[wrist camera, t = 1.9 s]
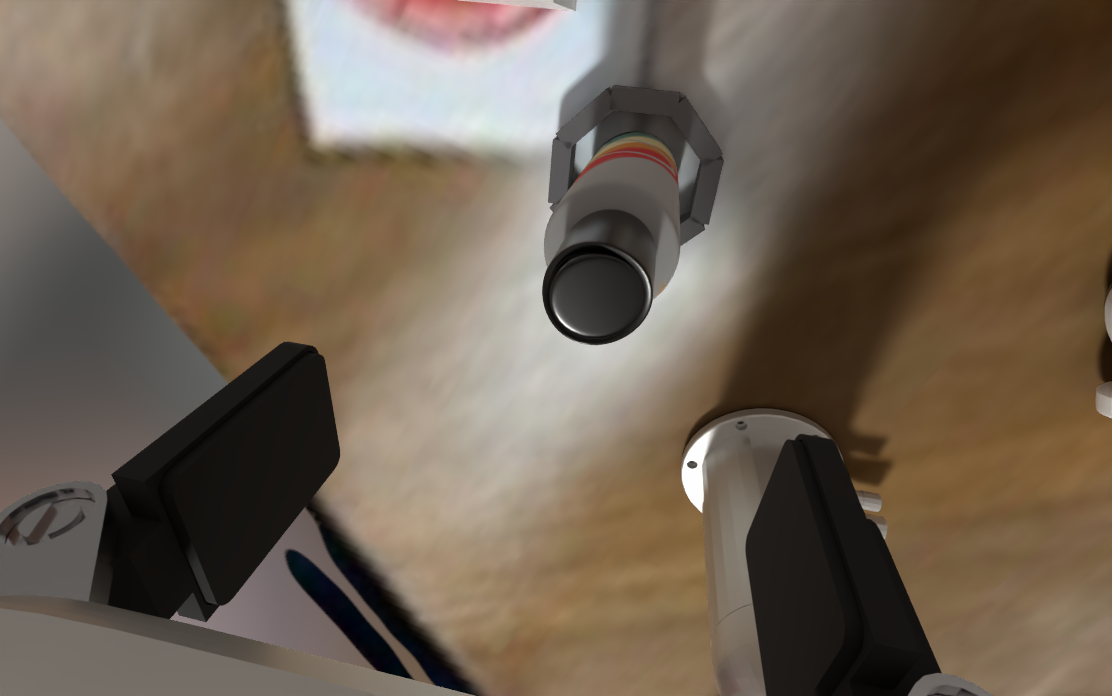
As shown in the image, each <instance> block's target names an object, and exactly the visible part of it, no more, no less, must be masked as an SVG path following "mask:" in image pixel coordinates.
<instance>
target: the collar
mask: <svg viewBox="0 0 1112 696" xmlns="http://www.w3.org/2000/svg"><path fill="white" fill-rule="evenodd" d="M679 97H680V92H673V91H663V90H654V89H645V88H636V87H627V86H618V85H615V86H613V87H612V90H611V89H610V88H607V89H606V90H604V91H603V92H602V93H601V94H600V95H599V96H598V97H597V98H595V99H594V100H593V101H592V102H591V103H590V104H589V105H588V106H586V107H585V108H584V109H583V110H582V111H581V112H580V113H579V114H577V115H576V116H575V117H574V118H573V119H572V120H571V121H570V122H568V123H567V124H566V125H565V126H564V127H563V128H562V129H561V130H559V131H558V132H557V133H556V135H557V137H556V138H554V139H553V145H552V158H551V171H550V184H549V197H548V203H553V205H552V206H551V207H550V209H551V210H552V211H553V212H554V210H555V209H556V207H557V206H558V204H559V203H560V201H561V200H562V198H563V197H564V196H565V194H566V193H567V191H568V190H569V189H570V187H571V186H572V179H573V169H574V158H575V148H576V143H577V142H578V141H579V140H580V139H581V138H582V137H584V136H585V135H586V134H587V133H588V132H589V131H591V130H592V129H593V128H594V127H595V126H596V125H598V124H599V123H600V122H601V121H602V120H603V119H605V118H606V117H607V116H608V115H609V114H610V113H612V112H613V111H614V110H618V111H627V112H635V113H644V114H653V115H661V116H670V117H671V118H672V119H673V121H674V122H675V124H676V125H677V127H678V128H679V130H680V131H681V133H682V134H683V136H684V137H685V139H686V140H687V141H688V143H689V144H690V146H691V147H692V149H693V150H694V152H695V153H696V155H697V156H698V158H699V159H700V164H699V169H698V174H697V178H696V183H695V187H694V192H693V197H692V201H691V206H690V210H689V211H688V212H686V213H685V214H683V215H682V216H680V246H681V245H683V244H684V243H686V242H687V241H689V240H690V239H692V238H693V237H695V236H696V235H698V234H699V233H701V232H702V231H704V230H705V227H704V224H707V225H709V221H710V216H711V212H712V208H713V204H714V200H715V195H716V191H717V187H718V183H719V179H720V174H721V170H722V166H723V162H724V160H723V158H722V156H721V155H722V152H721V150H720V148H719V146H718V145H717V143H716V142H715V140H714V139H713V137H712V136H711V134H710V133H709V131H708V130H707V128H706V127H705V125H704V124H703V122H702V121H701V119H700V118H699V116H698V115H697V113H696V112H695V110H694V109H693V107H692V105H691V104H690V102H689V101H688V99H687V98H686V96H684V97H683V98H681V99H680V100H679Z"/></svg>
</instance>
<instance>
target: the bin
mask: <svg viewBox="0 0 1112 696" xmlns="http://www.w3.org/2000/svg"><path fill="white" fill-rule="evenodd" d="M460 1H471V2H482V3H493V4H503V5H514V6H525V7H536V8H547V9H557V10H568V11H575V10H576V0H460Z"/></svg>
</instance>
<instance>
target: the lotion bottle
mask: <svg viewBox="0 0 1112 696" xmlns="http://www.w3.org/2000/svg"><path fill="white" fill-rule="evenodd" d="M544 254H545V260H546V264H547V267H548V268H547V270H546V273H545V276H544V280H543V287H542V295H543V303H544V307H545V310H546V313H547V315H548V317H549V319H550V321H551V322H552V324H553V325H554V326H555V327H556V329H557V330H558V331H559V332H561V333H562V334H563V335H564V336H566V337H567V338H569V339H571V340H573V341H575V342H578V343H582V344H588V345H602V344H608V343H612V342H615V341H617V340H620V339H622V338H624V337H626V336H627V335H629V334H630V333H632V332H633V331H634V330H635V329H636V328H638V327H639V325H640V324H641V323H642V322H643V321H644V319H645V318H646V316H647V315H648V313H649V310H650V308H651V305H652V300H653V299H654V298H656V297H657V296H658V295H659V294H660V293H661V292H662V291H663V290H664V289H665V287H666V286H667V285H668V283H669V282H670V280H671V278H672V277H673V275H674V272H675V270H676V267H677V264H678V260H679V254H680V212H679V185H678V171H677V166H676V162H675V159H674V157H673V155H672V153H671V151H670V150H669V148H668V147H667V146H666V145H665V144H664V143H663V142H662V141H661V140H659V139H658V138H656V137H655V136H652V135H650V134H647V133H643V132H627V133H623V134H620V135H618V136H616V137H614V138H612V139H610V140H609V141H608V142H606V143H605V144H604V145H603V146H602V147H601V148H600V149H599V150H598V152H597V153H596V154H595V155H594V157H593V158H592V159H591V161H590V162H589V163H588V165H587V166H586V167H585V169H584V170H583V171H582V173H581V174H580V175H579V177H578V178H577V179H576V181H575V182H574V183H573V185H572V186H571V187H570V189H569V190H568V191H567V193H566V194H565V196H564V197H563V198H562V200H561V201H560V203H559V204H558V206H557V207H556V209H555V210H554V212H553V214H552V216H551V217H550V220H549V222H548V225H547V228H546V232H545V238H544Z"/></svg>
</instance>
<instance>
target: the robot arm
mask: <svg viewBox="0 0 1112 696" xmlns="http://www.w3.org/2000/svg"><path fill="white" fill-rule="evenodd" d="M339 458H340V447H339V441H338V435H337V429H336V424H335V418H334V412H333V406H332V400H331V394H330V388H329V382H328V376H327V370H326V364H325V360H324V357H323V356H322V355H320V354H318V351H317V349H316V348H315V347H313V346H310V345H304V344H299V343H293V342H283V343H281V344H280V345H278V346H277V347H276V348H275V349H273V350H272V351H271V352H269V353H268V354H267V355H265V356H264V357H263V358H262V359H260V360H259V361H258V362H256V363H255V364H254V365H253V366H251V367H250V368H249V369H247V370H246V371H245V372H243V373H242V374H241V375H240V376H238V377H237V378H236V379H234V380H233V381H232V382H231V383H229V384H228V385H227V386H225V387H224V388H223V389H222V390H220V391H219V392H218V393H216V394H215V395H214V396H212V397H211V398H210V399H208V400H207V401H206V402H205V403H203V404H202V405H201V406H199V407H198V408H197V409H196V410H194V411H193V412H192V413H190V414H189V415H188V416H186V417H185V418H184V419H183V420H181V421H180V422H179V423H177V424H176V425H175V426H174V427H172V428H171V429H170V430H168V431H167V432H166V433H164V434H163V435H162V436H161V437H159V438H158V439H157V440H155V441H154V442H153V443H151V444H150V445H149V446H148V447H146V448H145V449H144V450H142V451H141V452H140V453H138V454H137V455H136V456H135V457H133V458H132V459H131V460H129V461H128V462H127V463H126V464H124V465H123V466H122V467H120V468H119V469H118V470H116V471H115V472H114V473H113V474H111V475H112V477H113V479H114V481H115V483H116V484H115V485H113V486H112V487H111V488H110V489H108V490H107V491H105V489H103V487H101V485H99V484H95V483H92V482H88V481H72V482H66V483H60V484H56V485H53V486H49V487H46V488H43V489H40V490H37V491H35V492H33V493H31V494H29V495H26V496H25V497H22V498H20V499H19V500H17V501H16V502H14V503H12V504H11V505H9V506H8V507H6V508H5V509H4V510H3V511H2V512H0V696H474V695H470V694H466V693H462V692H458V691H454V690H450V689H446V688H442V687H438V686H434V685H430V684H427V683H422V682H419V681H415V680H411V679H407V678H403V677H399V676H395V675H391V674H387V673H383V672H379V671H375V670H371V669H367V668H363V667H359V666H355V665H352V664H347V663H344V662H340V661H335V660H332V659H328V658H324V657H320V656H316V655H312V654H308V653H304V652H299V651H295V650H292V649H287V648H284V647H280V646H275V645H271V644H267V643H263V642H259V641H255V640H251V639H247V638H243V637H239V636H235V635H231V634H227V633H223V632H219V631H215V630H211V629H207V628H203V627H199V626H195V625H190V624H187V623H182V622H178V621H174V620H169V619H170V618H171V617H172V616H173V615H174V614H175V612H176V611H177V612H178V614H179V615H180V616H184V617H188V618H192V619H196V620H200V621H204V622H207V621H208V619H209V618H210V617H211V616H212V614H213V613H214V612H215V611H216V609H217V608H218V607H219V606H220V605H225V604H227V603H228V602H230V601H231V599H232V598H233V597H234V596H235V595H236V593H237V592H238V591H239V590H240V589H241V587H242V586H243V585H244V583H245V582H246V581H247V579H248V578H249V577H250V576H251V575H252V573H253V572H254V571H255V569H256V568H257V567H258V566H259V564H260V563H261V562H262V561H263V559H264V558H265V557H266V556H267V554H268V553H269V552H270V550H271V549H272V548H273V547H274V545H275V544H276V543H277V542H278V540H279V539H280V537H282V535H283V534H284V533H285V531H286V530H287V529H288V527H289V526H290V525H291V524H292V523H293V521H294V520H295V519H296V517H297V516H298V515H299V513H300V512H301V511H302V510H303V509H304V507H305V506H306V505H307V504H308V502H309V501H310V500H311V498H312V497H313V496H314V495H315V493H316V492H317V491H318V490H319V488H320V487H321V486H322V485H323V483H324V482H325V481H326V479H327V478H328V477H329V476H330V474H331V473H332V472H333V471H334V469H335V468H336V466H337V464H338V462H339ZM681 479H682V484H683V487H684V490H685V493H686V494H687V496H688V498H689V499H690V501H691V502H692V503H693V504H694V506H695V507H696V508H697V509H698V510H699V511H700V512H702V516H703V531H704V547H705V563H706V579H707V595H708V611H709V627H710V643H711V656H712V667H713V674H714V679H715V682H716V686H717V689H718V692H719V694H720V696H993V695H991V694H990V693H988V692H987V691H985V690H983V689H982V688H980V687H979V686H977V685H976V684H974V683H972V682H969V681H967V680H964V679H962V678H960V677H957V676H955V675H948V674H942V673H941V671H940V668H939V666H938V664H937V661H936V659H935V657H934V654H933V652H932V650H931V647H930V645H929V643H928V640H927V638H926V636H925V633H924V631H923V629H922V626H921V624H920V622H919V619H918V617H917V615H916V612H915V610H914V608H913V605H912V603H911V601H910V598H909V596H908V594H907V591H906V589H905V587H904V584H903V582H902V580H901V577H900V575H899V573H898V570H897V568H896V566H895V563H894V561H893V559H892V556H891V554H890V552H889V549H888V547H887V545H886V542H885V540H884V539H885V538H886V534H887V524H886V520H885V519H884V517H881V516H876V515H871V514H866V513H864V511H863V509H865V510H870V511H875V512H878V511H879V510H880V509H881V506H882V499H881V496H880V495H879V494H877V493H872V492H866V491H857V490H855V489H854V486H853V484H852V481H851V479H850V477H849V474H848V472H847V469H846V467H845V464H844V461H843V457H842V455H841V452H840V450H839V448H838V446H837V444H836V442H835V441H834V440H833V438H832V437H831V436H830V434H829V433H828V432H827V431H825V430H824V429H823V428H822V427H821V426H820V425H818V424H817V423H815V422H813V421H811V420H810V419H808V418H806V417H804V416H801V415H798V414H795V413H792V412H789V411H783V410H778V409H764V408H756V409H748V410H740V411H737V412H733V413H729V414H726V415H724V416H722V417H719V418H717V419H715V420H713V421H711V422H710V423H708V424H707V425H705V426H704V427H702V428H701V429H700V430H699V431H698V432H697V433H696V434H695V435H694V436H693V437H692V438H691V440H690V441H689V443H688V445H687V446H686V448H685V450H684V453H683V456H682V462H681Z"/></svg>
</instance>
